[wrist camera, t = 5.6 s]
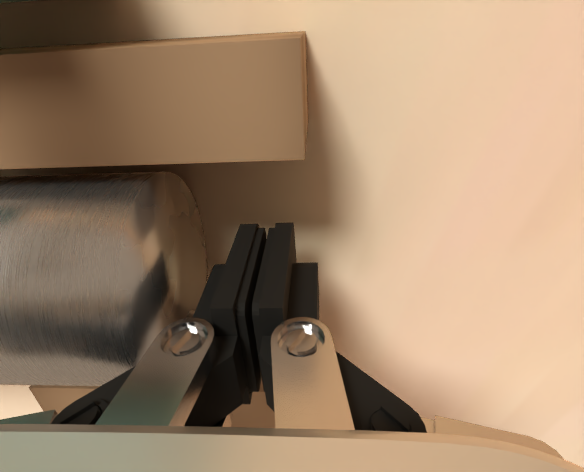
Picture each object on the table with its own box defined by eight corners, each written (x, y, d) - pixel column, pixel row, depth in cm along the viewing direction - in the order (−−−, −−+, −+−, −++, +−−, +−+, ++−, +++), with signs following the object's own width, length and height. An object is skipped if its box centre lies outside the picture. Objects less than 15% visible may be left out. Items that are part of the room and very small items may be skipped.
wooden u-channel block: (305, 31, 10) (299, 38, 7) (315, 359, 17) (314, 435, 14) (-38, 51, 11) (-174, 64, 8) (100, 356, 17) (54, 428, 14)
